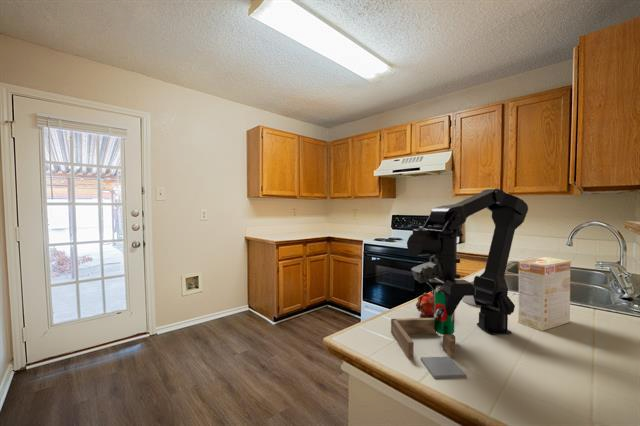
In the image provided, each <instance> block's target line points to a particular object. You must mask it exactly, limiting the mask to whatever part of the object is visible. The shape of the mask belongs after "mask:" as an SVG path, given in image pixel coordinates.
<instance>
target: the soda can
mask: <svg viewBox="0 0 640 426" xmlns="http://www.w3.org/2000/svg"><path fill="white" fill-rule="evenodd" d="M440 290H444V288H443V286H436V289H435V290H434V316H433V318H434V330H435V331H436V334H439V335H442V336H443V334H453V335H454V333H455V324H456V321H455V316H456V315H455V314H456V313H455V312H456V310H455V311H454V313H453V314H452V316H448V315H447V312H446V303H445V296H444V295H443V293H442V292H441V291H440Z"/></svg>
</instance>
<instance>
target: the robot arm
mask: <svg viewBox="0 0 640 426" xmlns="http://www.w3.org/2000/svg"><path fill="white" fill-rule="evenodd" d="M484 209H485V210H486V209H487V210H489V212H491V220H492V222H493V223H494V230H493V235H492V238H491V243H490V246H489V251H488V255H487V259H486V264H485V268H484V271H483V272H482V273H481V274H480V275H475V276H474V277H473V283H472V282H471V281H469V280H468V281H467V280H466V279H460V278H461V275H460V274H459V273H457V271H458V270H457V264H461V258H458V257H457V255H458V249H457V248H458V247H457V246H458V245H457V244H458V238H459V237H460V238H461V237H462V238H463V237H464V234H463V233H462V232H461V231H460V230H459V229H458V228H459V227H461V226H462V225H463V224H465V223H466V221H467V219H468V217H470V216H472V215H474V214H476V213H478V212H480V211H482V210H484ZM528 211H529V205H528V204H527V203H526V202H525V201H524V200H523V199H521V198H519V197H518V196H515V195H513V194H510V193H508V192H507V193H506V192H505V191H504V190H502V189H500V188H488V189H484V190H482V191H481V192H478V193H476V194H474V195H472V196H470V197H467V198H466V199H463V200H461V201H458V202H457V203H453V204H447V205H445V204H444V205H441V206H435V207H433V208H432V209H431V210H430V214H429V216H428V217H427V220H426V221H425V223H424V225H422V227H421V229H416V228H414V229H412V233H411V234H410V235H409V237H408V239H407V242H406V246H407V251H408V252H409V254H410V255H411V256H413V257H422V256H429V259H428V260H429V261H428V262H424V263H422V264H421V263H420V264H419V265H416V266H413V267H412V268H410V269H411V273H412V276H413V278H414V280H415V281H417V282H418V283H419V284H423V283H426V284H427V285H429V286H430V288H431V291H432V292H433V294H434V290H435V289H436V286H443V288H444V290H440V291H441V292H442V293H443V295H444V296H445V303H446V312H447V315H448V316H452V314H453V313H454V311H455V312H456V309H457V308H458V306H459V304H460V302H461V301H463V300H462V298H463V297H464V296H473V297H474V301H475V304H476V305H478V307H479V308H480V310H479V311H478V322H477V323H476V325H477V326H478V327H479V328H480V329H482V330H483V331H485V332H486V333H488V334H489V335H512V334H513V333H512V330H509V328H508V325H509V324H508V319H509V318H508V315H509V316H511V315H512V313H514V312H515V307H516V305H515V304H514V301H512V300H511V298H510V297H509V296H508V293H509V288H508V285H507V281H506V279H505V274H506V269H507V265H508V261H509V257H510V252H511V248H512V244H513V239H514V235H515V232H516V229H518V228H519V227H520V226H521V225H522V224H523V223H524V222H525V220H526V217H527V214H528ZM476 305H475V306H476Z"/></svg>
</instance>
